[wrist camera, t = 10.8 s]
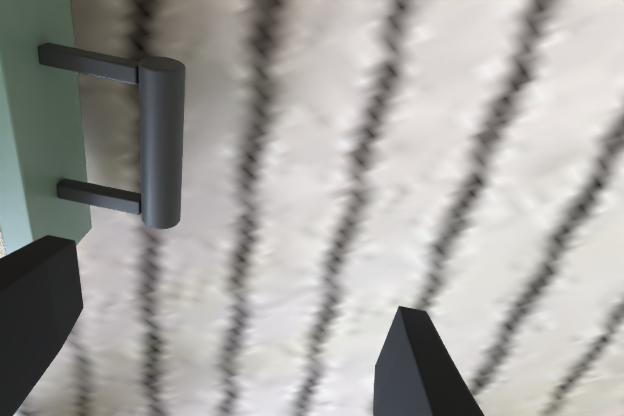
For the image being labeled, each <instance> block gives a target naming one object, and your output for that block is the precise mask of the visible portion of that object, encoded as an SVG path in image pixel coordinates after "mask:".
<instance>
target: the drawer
mask: <svg viewBox="0 0 624 416" xmlns="http://www.w3.org/2000/svg"><path fill="white" fill-rule="evenodd" d="M185 69H186V68H185V65H184V64H183V63H182V62H180V61H178V60H175V59H172V58H167V57H157V56H154V57H146V58H142V59H141V60H140V61H139V62H138V61H134V60H129V59H124V58H119V57H115V56H110V55H105V54H101V53H96V52H91V51H86V50H82V49H77V48H75V43H74V32H73V22H72V11H71V0H0V232H1V233H2V238H3V242H4V247H5V251H6V255H8V254H10V253H12V252H14V251H16V250H18V249H20V248H22V247H24V246H26V245H27V244H29V243H31V242H33V241H35V240H38V239H40V238H42V237H44V236H46V235H51V236H56V237H61V238H66V239H71V240H75V242H76V245H77V244H78V243H79V242H80V240H81V239H82V238H83V237H84V236H85V235H86V234H87V233H88V231H89V230H90V229H91V227H92V226H91V215H90V205H93V206H98V207H103V208H108V209H113V210H118V211H122V212H127V213H132V214H137V215H140V214H141V218H142V221H143V223H144V224H145V225H146V226H148V227H150V228H153V229H168V228H172V227H174V226H175V225H177V224H178V222H179V221H180V212H181V183H182V155H183V126H184V98H185ZM77 72H78V73H83V74H88V75H92V76H97V77H102V78H106V79H111V80H116V81H121V82H125V83H130V84H135V85H136V84H138V83H139V121H140V170H141V194H140V193H135V192H130V191H125V190H120V189H116V188H111V187H106V186H101V185H96V184H91V183H87V172H86V161H85V151H84V140H83V129H82V118H81V108H80V97H79V86H78V75H77Z"/></svg>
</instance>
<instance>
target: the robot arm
mask: <svg viewBox="0 0 624 416" xmlns="http://www.w3.org/2000/svg"><path fill="white" fill-rule="evenodd" d="M82 309H83V300H82V292H81V283H80V275H79V267H78V259H77V250H76V242H75V240H71V239H66V238H61V237H56V236H51V235H46V236H44V237H42V238H40V239H38V240H35V241H33V242H31V243H29V244H27V245H26V246H24V247H22V248H20V249H18V250H16V251H14V252H12V253H10V254H8V255H6V256H4V257H2V258H0V416H13V415H14V414H15V412H16V411H17V409H18V408H19V407H20V405H21V404H22V403H23V401H24V400H25V398H26V397H27V396H28V394H29V393H30V392H31V390H32V389H33V387H34V386H35V385H36V383H37V382H38V381H39V379H40V378H41V376H42V375H43V374H44V372H45V371H46V369H47V368H48V367H49V365H50V364H51V362H52V361H53V360H54V358H55V357H56V355H57V354H58V352H59V351H60V350H61V348H62V346H63V344H64V343H65V341H66V339H67V337H68V336H69V334H70V332H71V330H72V328H73V327H74V325H75V323H76V321H77V319H78V317H79V315H80V313H81V311H82ZM373 415H374V416H484V414H483V413H482V411H481V409H480V408H479V406H478V404H477V403H476V401H475V399H474V397H473V396H472V394H471V392H470V391H469V389H468V387H467V385H466V384H465V382H464V380H463V379H462V377H461V375H460V373H459V371H458V370H457V368H456V366H455V364H454V362H453V360H452V359H451V357H450V355H449V353H448V351H447V349H446V348H445V346H444V344H443V342H442V340H441V338H440V336H439V334H438V332H437V330H436V328H435V326H434V325H433V323H432V321H431V319H430V317H429V315H428V314H427V312H426V311H421V310H417V309H412V308H407V307H402V306H399V307H398V310H397V312H396V315H395V317H394V320H393V322H392V325H391V327H390V330H389V332H388V335H387V338H386V340H385V343H384V345H383V348H382V350H381V353H380V355H379V358H378V360H377V363H376V365H375V380H374V403H373Z"/></svg>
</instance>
